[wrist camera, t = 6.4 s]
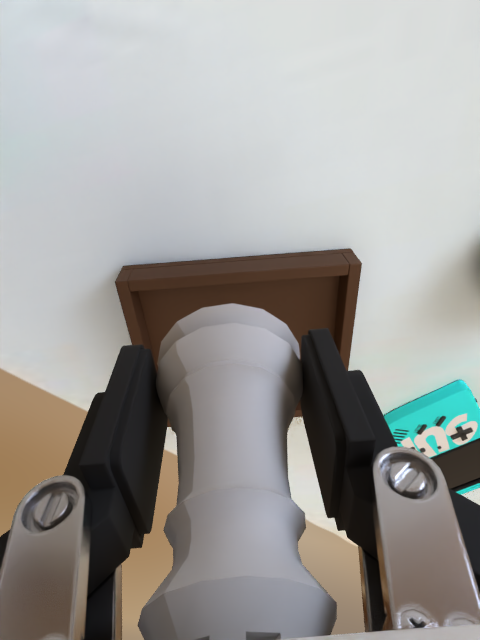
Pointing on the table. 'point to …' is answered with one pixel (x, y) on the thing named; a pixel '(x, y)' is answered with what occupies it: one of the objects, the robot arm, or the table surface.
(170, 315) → the tray
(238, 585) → the rook chess piece
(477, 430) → the handheld game console
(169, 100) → the table surface
